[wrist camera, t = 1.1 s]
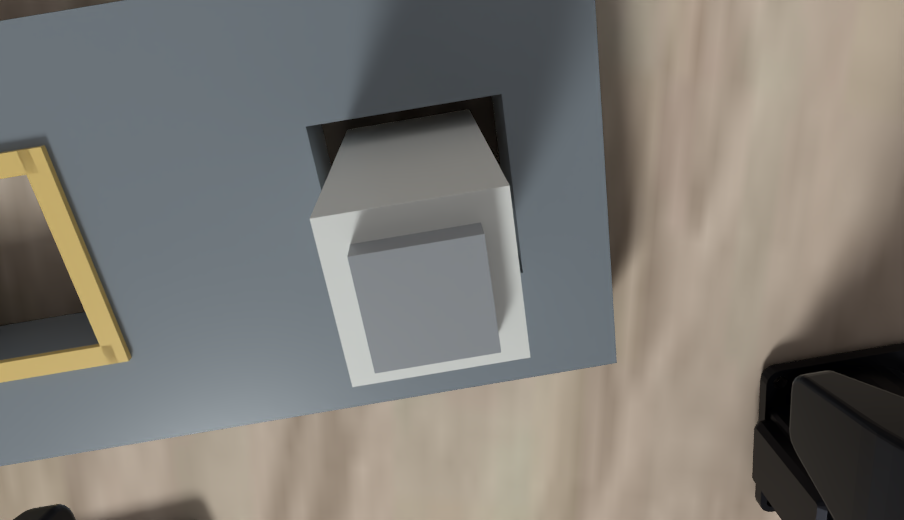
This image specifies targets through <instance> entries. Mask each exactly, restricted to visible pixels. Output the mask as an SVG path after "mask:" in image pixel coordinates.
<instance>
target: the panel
mask: <svg viewBox="0 0 904 520" xmlns="http://www.w3.org/2000/svg"><path fill="white" fill-rule="evenodd" d="M487 96H492V103H493V111H494V119H495V127H496V135H497V143H498V151H499V159H500V167H501V170H502V172H503V174H504V176H505V178H506V180H507V182H508V183H509V185H510V193H511V201H512V209H513V218H514V226H515V234H516V242H517V250H518V259H519V267H520V275H521V283H522V292H523V300H524V308H525V316H526V325H527V333H528V341H529V349H530V357H531V358H525V359H519V360H513V361H507V362H501V363H495V364H489V365H483V366H477V367H471V368H465V369H459V370H453V371H447V372H441V373H435V374H429V375H423V376H417V377H411V378H405V379H399V380H393V381H387V382H381V383H375V384H369V385H363V386H357V387H352V383H351V380H350V376H349V372H348V368H347V364H346V360H345V356H344V352H343V348H342V344H341V340H340V336H339V332H338V329H337V325H336V321H335V317H334V313H333V309H332V305H331V301H330V297H329V293H328V289H327V285H326V281H325V277H324V274H323V270H322V266H321V262H320V258H319V254H318V250H317V246H316V242H315V238H314V234H313V230H312V226H311V223H310V217H311V214H312V212H313V210H314V207H315V205H316V202H317V200H318V198H319V195H320V193H321V191H322V188H323V186H324V184H325V181H326V179H327V177H328V174H329V172H330V170H331V163H330V158H329V154H328V150H327V146H326V141H325V137H324V133H323V128H322V124H325V123H331V122H337V121H343V120H349V119H355V118H361V117H367V116H373V115H379V114H385V113H391V112H397V111H403V110H409V109H415V108H421V107H427V106H433V105H439V104H445V103H451V102H457V101H463V100H469V99H475V98H481V97H487ZM21 175H27V177H28V179H29V182H30V184H31V186H32V189H33V191H34V193H35V196H36V198H37V200H38V203H39V205H40V207H41V210H42V212H43V214H44V217H45V219H46V221H47V224H48V226H49V228H50V231H51V233H52V235H53V238H54V240H55V242H56V245H57V247H58V249H59V252H60V254H61V256H62V259H63V261H64V263H65V266H66V268H67V270H68V273H69V275H70V277H71V280H72V282H73V284H74V287H75V289H76V291H77V294H78V296H79V298H80V301H81V303H82V305H83V308H84V310H85V312H82V313H76V314H70V315H64V316H58V317H52V318H46V319H40V320H34V321H28V322H22V323H16V324H10V325H4V326H0V466H4V465H10V464H16V463H22V462H28V461H34V460H40V459H46V458H52V457H58V456H64V455H70V454H76V453H82V452H88V451H94V450H100V449H105V448H111V447H117V446H123V445H129V444H135V443H141V442H147V441H153V440H159V439H165V438H171V437H177V436H183V435H189V434H195V433H201V432H207V431H213V430H219V429H225V428H231V427H237V426H243V425H249V424H255V423H261V422H267V421H273V420H278V419H284V418H290V417H296V416H302V415H308V414H314V413H320V412H326V411H332V410H338V409H344V408H350V407H356V406H362V405H368V404H374V403H380V402H386V401H392V400H398V399H404V398H410V397H416V396H422V395H428V394H434V393H440V392H445V391H451V390H457V389H463V388H469V387H475V386H481V385H487V384H493V383H499V382H505V381H511V380H517V379H523V378H529V377H535V376H541V375H547V374H553V373H559V372H565V371H571V370H577V369H583V368H589V367H595V366H601V365H607V364H613V363H617V361H616V344H615V327H614V310H613V294H612V277H611V260H610V243H609V226H608V209H607V193H606V176H605V159H604V142H603V125H602V108H601V92H600V75H599V58H598V41H597V24H596V8H595V0H123V1H117V2H111V3H105V4H99V5H93V6H87V7H81V8H75V9H69V10H63V11H57V12H51V13H45V14H39V15H33V16H27V17H21V18H15V19H9V20H3V21H0V179H3V178H9V177H15V176H21Z"/></svg>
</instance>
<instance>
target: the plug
mask: <svg viewBox="0 0 904 520" xmlns="http://www.w3.org/2000/svg"><path fill="white" fill-rule="evenodd" d="M310 223H311V226H312V230H313V234H314V238H315V242H316V246H317V250H318V254H319V258H320V262H321V266H322V270H323V274H324V277H325V281H326V285H327V289H328V293H329V297H330V301H331V305H332V309H333V313H334V317H335V321H336V325H337V329H338V332H339V336H340V340H341V344H342V348H343V352H344V356H345V360H346V364H347V368H348V372H349V376H350V380H351V383H352V387H357V386H363V385H369V384H375V383H381V382H387V381H393V380H399V379H405V378H411V377H417V376H423V375H429V374H435V373H441V372H447V371H453V370H459V369H465V368H471V367H477V366H483V365H489V364H495V363H501V362H507V361H513V360H519V359H525V358H531V357H530V349H529V341H528V333H527V325H526V316H525V308H524V300H523V292H522V283H521V275H520V267H519V259H518V250H517V242H516V234H515V226H514V218H513V209H512V201H511V193H510V185H509V183H508V182H507V180H506V178H505V176H504V174H503V172H502V170H501V168H500V166H499V165H498V163H497V161H496V159H495V157H494V155H493V153H492V151H491V150H490V148H489V146H488V144H487V142H486V140H485V138H484V136H483V135H482V133H481V131H480V129H479V127H478V125H477V123H476V121H475V119H474V118H473V116H472V114H471V112H470V110H469V109H467V110H461V111H455V112H449V113H443V114H437V115H431V116H425V117H419V118H413V119H407V120H401V121H395V122H389V123H383V124H377V125H371V126H365V127H359V128H353V129H348V130H347V132H346V134H345V137H344V139H343V141H342V144H341V146H340V148H339V151H338V153H337V155H336V158H335V160H334V162H333V165H332V167H331V170H330V172H329V174H328V177H327V179H326V181H325V184H324V186H323V188H322V191H321V193H320V195H319V198H318V200H317V202H316V205H315V207H314V210H313V212H312V214H311V217H310Z"/></svg>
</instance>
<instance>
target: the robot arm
mask: <svg viewBox="0 0 904 520" xmlns="http://www.w3.org/2000/svg"><path fill="white" fill-rule="evenodd" d="M778 377H781V378H780V379H779V380H778V381H776V382H774V380H775V379H776V378H778ZM752 478H753V480H754V481H755V483H756V490H755V498H756V501H757V502H758V503H759V505H760V506H761V508H762V509H763V510H765V511H768V512H773V511H776V512H777V514H778V515H779V517H780V518H781V519H782V520H904V343H901V344H895V345H889V346H883V347H877V348H871V349H865V350H859V351H853V352H847V353H841V354H835V355H829V356H823V357H817V358H811V359H805V360H799V361H793V362H787V363H781V364H775V365H772V366H769V367H768V368H767V369H765V370H764V372H763V373H762V375H761V380H760V402H759V421H758V422H757V424H756V426H755V428H754V449H753V473H752ZM13 520H76V519H75V517H74V515H73V513H72V512H71V510H70V509H69V508H68V507H66V506H65V505H61V504H56V505H50V506H44V507H38V508H33V509H30V510H27V511H25V512H23V513H22V514H20V515H19V516H18V517H16V518H15V519H13Z"/></svg>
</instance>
